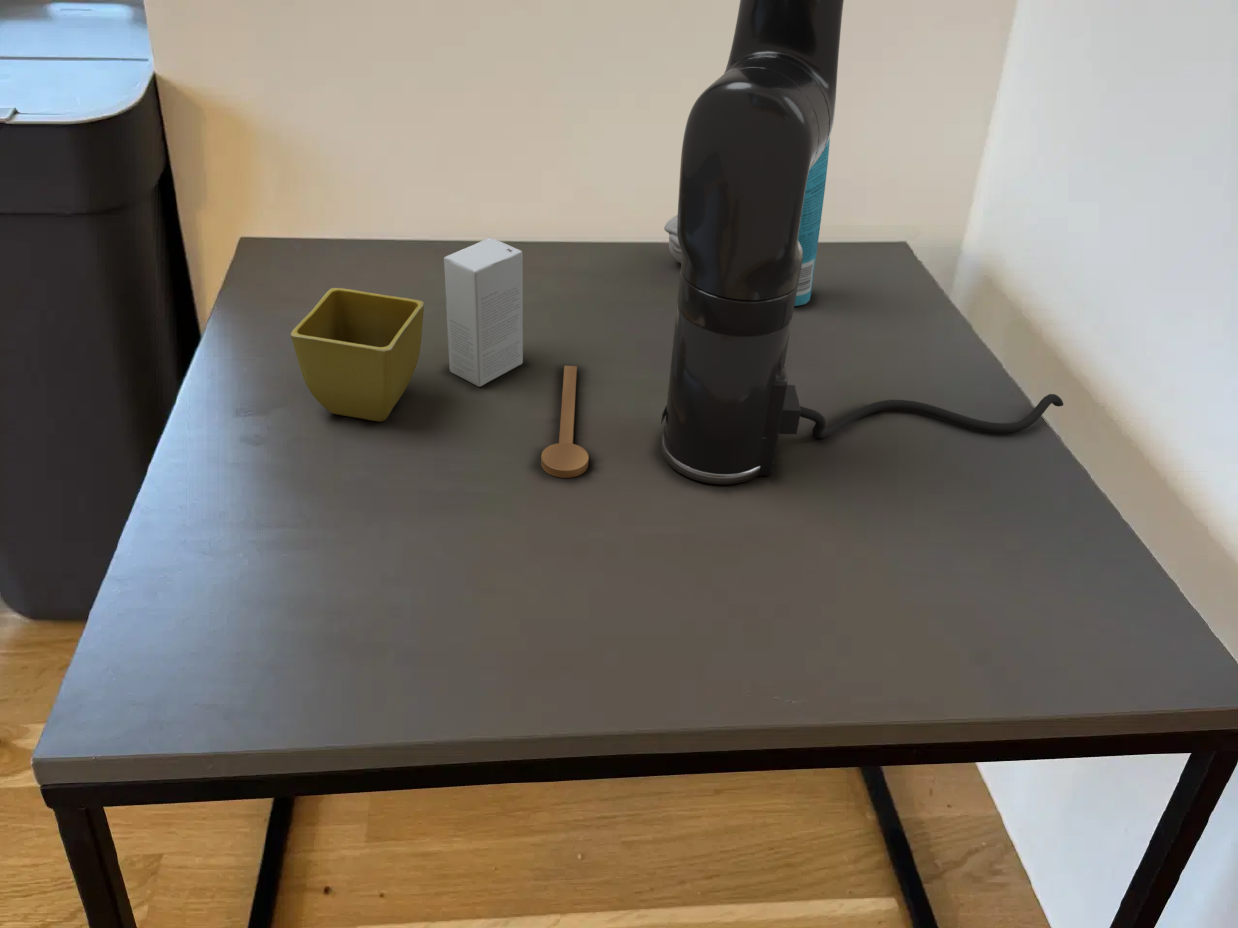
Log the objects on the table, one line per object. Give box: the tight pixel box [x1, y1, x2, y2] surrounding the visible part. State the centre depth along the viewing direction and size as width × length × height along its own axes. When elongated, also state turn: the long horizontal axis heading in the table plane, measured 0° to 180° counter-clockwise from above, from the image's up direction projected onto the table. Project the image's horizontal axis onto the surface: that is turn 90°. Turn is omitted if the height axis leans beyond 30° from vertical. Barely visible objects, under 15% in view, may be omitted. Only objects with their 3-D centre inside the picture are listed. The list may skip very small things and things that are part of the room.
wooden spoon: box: [540, 365, 590, 479], centre depth 99 cm, size 4×17×1 cm, turn 0°
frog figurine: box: [663, 214, 682, 264], centre depth 124 cm, size 6×7×7 cm
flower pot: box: [290, 287, 425, 422], centre depth 96 cm, size 9×9×9 cm
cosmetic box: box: [443, 237, 524, 388], centre depth 102 cm, size 6×4×12 cm
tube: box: [794, 137, 831, 307], centre depth 115 cm, size 7×5×19 cm, turn 152°
